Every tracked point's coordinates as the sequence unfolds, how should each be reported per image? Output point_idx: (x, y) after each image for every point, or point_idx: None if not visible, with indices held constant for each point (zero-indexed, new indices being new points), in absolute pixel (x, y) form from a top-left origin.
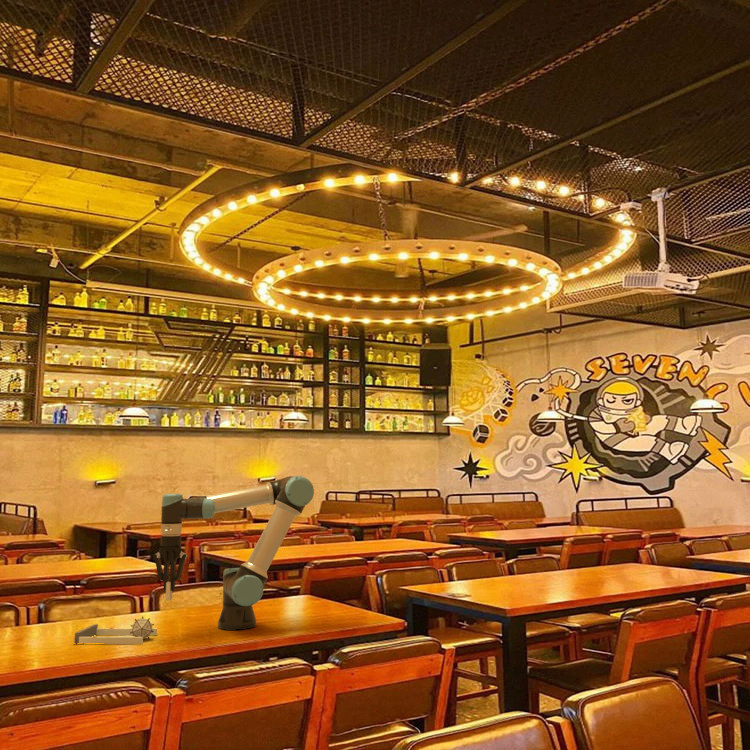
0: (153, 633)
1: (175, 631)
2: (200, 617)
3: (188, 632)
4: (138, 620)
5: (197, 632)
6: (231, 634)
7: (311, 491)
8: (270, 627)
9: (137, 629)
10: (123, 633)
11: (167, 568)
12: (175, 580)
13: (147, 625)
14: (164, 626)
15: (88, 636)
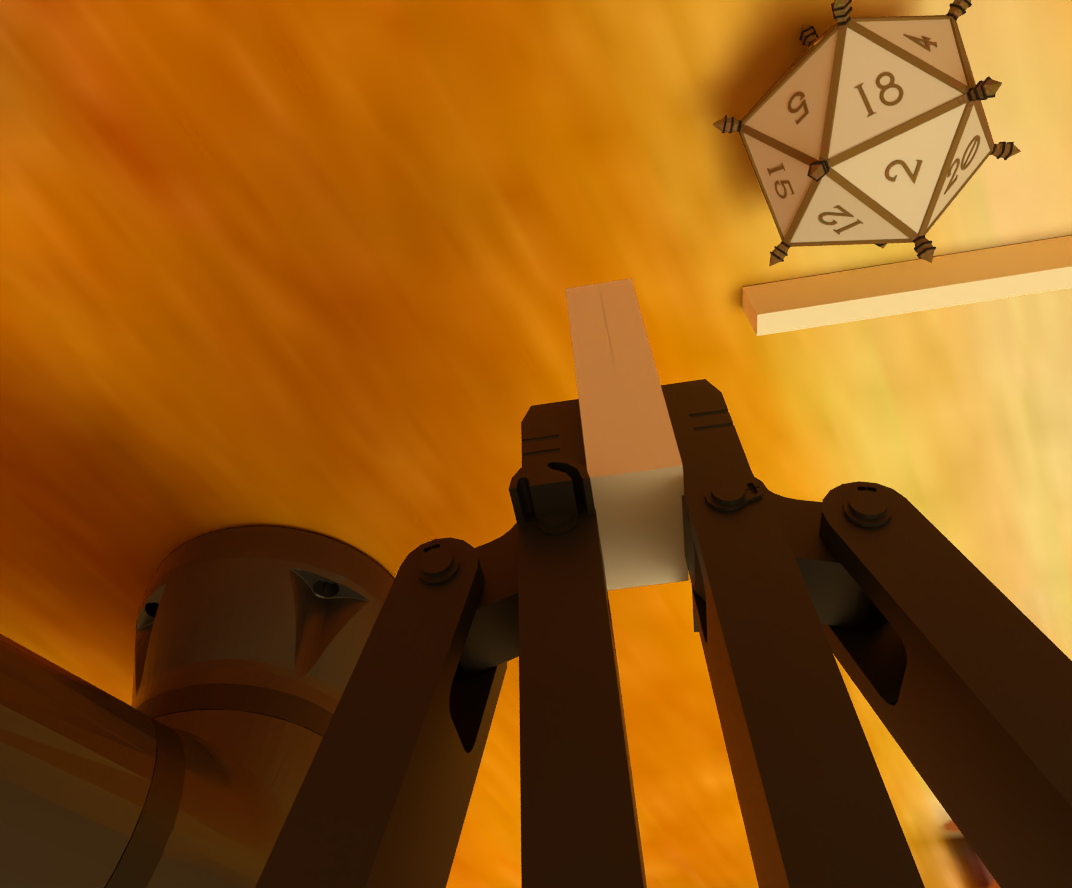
0: (773, 292)
1: None
2: (651, 751)
3: None
4: (943, 105)
5: (457, 443)
6: (153, 427)
7: None
8: (59, 630)
9: (897, 23)
10: (1056, 248)
11: (760, 803)
12: (485, 551)
13: (802, 113)
14: None
15: None
